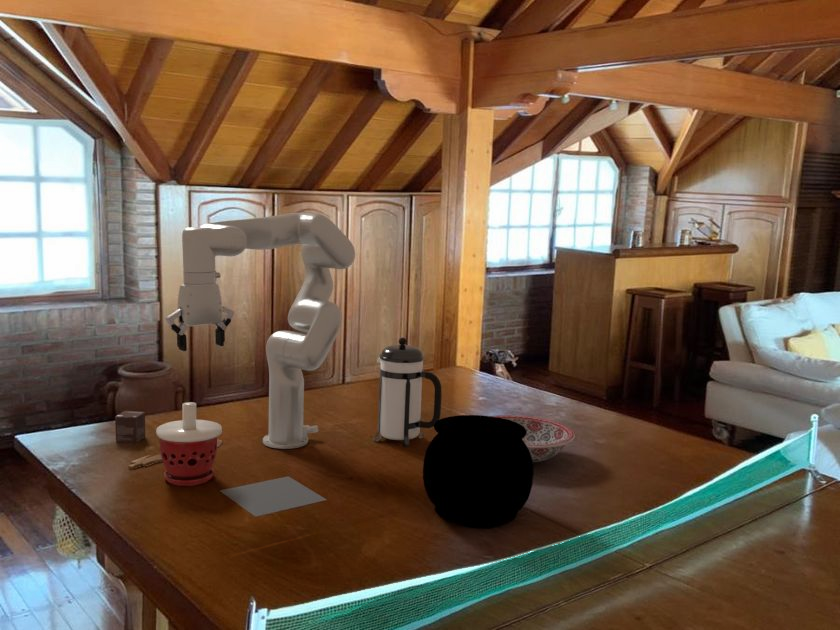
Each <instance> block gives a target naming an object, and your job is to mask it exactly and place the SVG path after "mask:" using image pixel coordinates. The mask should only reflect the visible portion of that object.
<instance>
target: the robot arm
mask: <svg viewBox="0 0 840 630" xmlns="http://www.w3.org/2000/svg"><path fill="white" fill-rule="evenodd" d="M181 235H182V236H181V237H182V238H181V240H182V241H181V242H182V267H183V268H182V269H183V270H182V272H183V273H182V274H183V279H182V280H183V283H181V284H180V285H179V288H178V289H179V290H178V297H177V309H176V310H175V311H173V312H172V313H170V314H169V315H167V316H165V321H166V323H167V325H168V326H169V328H170V329H171V330H172V331H173V332H174V333H175V334H176V339H177V340H176V346H177V347H178V350H180V351H182V352H187V349H188V348H187V347H188V346H187V344H188V342H187V341H188V340H187V335H186V334H185V333H186V332H187V330H188V329H189V327H197V326H198V327H199V326H207V325H215V327H216V328H215V330H214V331H215V333H214V334H215V337H214V338H215V345H217V346H220V347H224V346H225V341H226V335H225V334H226V333H225V332H226V330H227V327H228V326H229V325H230V324H231V322H232V319H233V317H234V314H235V311H234V310H232V309H230V308H228V307H225V306H223V302H222V296H221V291H220V285H219V284H218V282H217V279H219V278H221V272H217V271H216V257H217V256H218V257H219V256H220V257H237V256H239V255H240V254H242V253H243V252H245V250H256V251H257V250H258V251H259V250H260V251H263V250H265V251H266V250H273V249H279V248H284V247H289V246H295V245H302V246H301V250H300V253H301V259H302V263H303V265H304V271H305V276H304V280H303V281H304V282H303V284H302V285H301V288H300V289H299V291H298V294H297V296H296V297H295V299H294V301H293V302H292V304H291V307H290V309H289V311H288V315H287V322H288V324H289V326H290V327H291V328H292V329H294V330H297V331H300V332H297V331H292V330H284V329H283V330H278V331H275V332H274V333H272V334H271V335H270V336H269V337H268V338H267V342H266V345H265V353H266V354H265V355H266V359H267V360H266V361H267V365H268V374H269V377H268V378H269V379H268V380H269V381H268V382H269V384H268V385H269V387H268V434H266V435H264V437H263V438H262V443H263V445H264V446H266V447H268V448H273V449H279V450H287V449H288V450H290V449H297V448H302V447H305V446H306V445H308V443H309V437H308V436H309V434H314V433H315V434H316V433H318V432H319V425H311V426H310V425H309V424H307V425H305V424H304V399H305V397H304V395H305V379H304V374H303V371H309V372H310V371H315V370H317V369H319V368H320V367H321V366H322V364H323V363H324V362H325V360H326V358H327V356H328V354H329V353H330V351H331V349H332V346H333V344H334V342H335V340H336V339H337V336H338V334H339V332H340V329H341V327H342V323H343V313H342V311H341V308H340V307H339V306H338V305H337V304H336V303H334V302H332V301H330V298H331V296H332V294H333V291H334V280H333V276H332V273H331V270H330V269H333V270H334V269H335V270H345V269H347V268H349V267H351V266H352V265H353V263H354V261H355V258H356V249H355V247H354V245H353V242H352V241H351V240H350V238H348V237H347V235H345V233H344V232H343V231H342V229H340V228H339V227H338V226H337V225H336V224H335V223H334V222H333V221H332V220H331V219H330V218H329V217H327V216H326V215H324V214H322V213H310V212H309V213H308V212H292V213H285V214H283V213H282V214H279V215H278V214H277V215H270V216H264V217H263V216H262V217H253V218H243V219H233V220H232V219H231V220H223V221H222V220H221V221H215V222H209V223H207V222H206V223H204V224H203V225H200V226H193V227H192V226H190V227H186V228H184V229H183V230H182V233H181ZM223 313H225V316H224V318H223ZM176 319H177V323H179V324H178V325H177V324H176V323H175V320H176ZM301 332H304V333H301ZM302 370H303V371H302Z"/></svg>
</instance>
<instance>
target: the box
mask: <svg viewBox="0 0 840 630" xmlns="http://www.w3.org/2000/svg"><path fill="white" fill-rule="evenodd" d="M114 420H115V421H114V425H115V442H116V443H118V442H119V443H134V444H137V443H138V442H140V441H141V440H142V439H144V438H146V412H145V411H133V410H132V411H131V410H124V411H122V412H121V413H118V414H117V415H115V416H114Z"/></svg>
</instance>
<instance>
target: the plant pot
mask: <svg viewBox="0 0 840 630" xmlns="http://www.w3.org/2000/svg"><path fill="white" fill-rule="evenodd" d="M217 439H218V436H217V437H215V438H212V439H209V440H204V441H197V442H173V441H167V440H163V439H161V438H159V450H160V454H161V457H162V461H163V462H162V464H163V467H164V469H165V471H164V473H163V477H164V479H165V480H166V481H167V482H168V483H169V484H171V485H175V486H180V487H181V486H182V487H189V486H190V487H191V486H199V485H201V484H205V483H207V482H209V481H210V480H211V479H212V478H213V477H214V474H215V469H214V468H213V466H214V463H215V460H216V457H217V456H216V455H217V449H218V448H217Z"/></svg>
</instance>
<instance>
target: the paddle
mask: <svg viewBox="0 0 840 630" xmlns="http://www.w3.org/2000/svg"><path fill="white" fill-rule="evenodd" d="M222 445H223V440H221V439H220V438H217V449H218V448H220V447H221V446H222ZM160 461H162V457H161V453H159V454H156V455H153V456H152V455H150V454H149V455H145V456H142V457H138V458H137V459H134V460H132V461H131V462H132V463H134V464H131V463H130V464H129V465H128V468H130V469H129V470H131V469H132V470H134V469H133V468H135V469H137V468H136V467H139V466H146V465H149V464H152V463H156V462H160ZM160 463H161V462H160ZM156 464H157V463H156ZM139 468H140V467H139Z"/></svg>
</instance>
